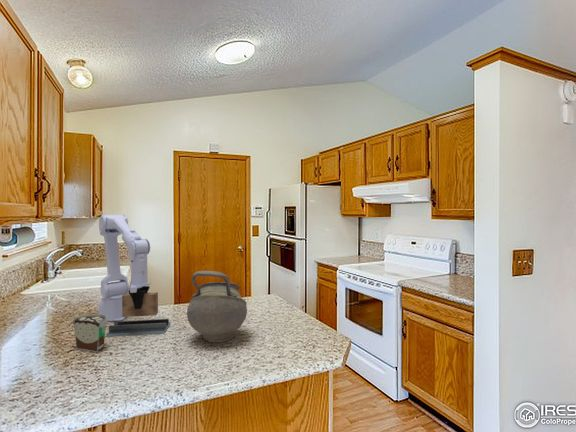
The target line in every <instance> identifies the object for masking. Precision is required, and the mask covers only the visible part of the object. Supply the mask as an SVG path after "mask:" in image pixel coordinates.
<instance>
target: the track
mask: <svg viewBox="0 0 576 432" xmlns="http://www.w3.org/2000/svg"><path fill="white" fill-rule="evenodd" d="M170 325H171V321H170V319H169V318H159V319H157V318H156V319H155V318H154V319H139V320H138V319H135V320H120V321H113V325H109V326H108V332H107V333H105V338H107V337H108V338H109V337H123V336H125V335H128V336H141V335H142V336H145V335H160V334H161V335H162V334H165V333H166V331H167V330H168V329H169V327H170Z"/></svg>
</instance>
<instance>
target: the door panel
mask: <svg viewBox="0 0 576 432" xmlns="http://www.w3.org/2000/svg"><path fill="white" fill-rule="evenodd" d="M158 314H159V293H158V292H147V293H144V296H143V302H142V307H141V309H135V307H134V303H133V300H132V298H131V296H130V294H129V293H128V294H124V295H122V317H125V318H131V317H132V318H133V317H134V318H135V317H151V316H152V317H153V316H157V315H158Z"/></svg>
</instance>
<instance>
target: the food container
mask: <svg viewBox="0 0 576 432" xmlns="http://www.w3.org/2000/svg"><path fill="white" fill-rule="evenodd" d="M108 324H109V321H108V320H107V318H106V316H105V315H100V314H99V313H95V314H85V315H81V316H76V317H73V320H72V325H73V326H74V327H73V328H74V339H75V348H76V350H83V351H86V352H87V351H88V352H93V353H99V352H101V351H102V350H104V348H105V338H106V326H107V325H108Z"/></svg>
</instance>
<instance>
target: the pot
mask: <svg viewBox="0 0 576 432" xmlns="http://www.w3.org/2000/svg"><path fill="white" fill-rule="evenodd" d="M196 277H212V278H213V277H214V278H215V277H216V278H220V279H223V280H224V281H214V282H213V281H212V282H205V283H203V284H201V285H199V284H198V283H197V281H196ZM191 281H192V284H193V285H194V287H195V289H196V292H195V293H194V294H192V295H191V297H192V298H191V299H190V300H189V302H188V303H189V304H188V305H187V308H186V309H187V310H186V317H187V321H188V323H189V325H190V327H191V328H192V329H193V330H195V331H196V332H197V333H199V334H201V335H202V337H203V339H204V341H207V342H211V343H221V342H228V341H229V340H231V339H232V338H233V337H234V336H235V335H234V333H235V331H237V330H238V329H240V328H241V326H242V325H243V324H244V323H245V322H244V321H246V318H247V314H248V308H247V301H246V300H245V299H243V297H242V295H241V294H240V293H239V290H240V286H239V285H238V284H236V283H233V282H230V278H229V276H228V275H227V274H225V273H223V272H220V271H215V270H199V271H196V272H194V273H193V274H192V276H191Z"/></svg>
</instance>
